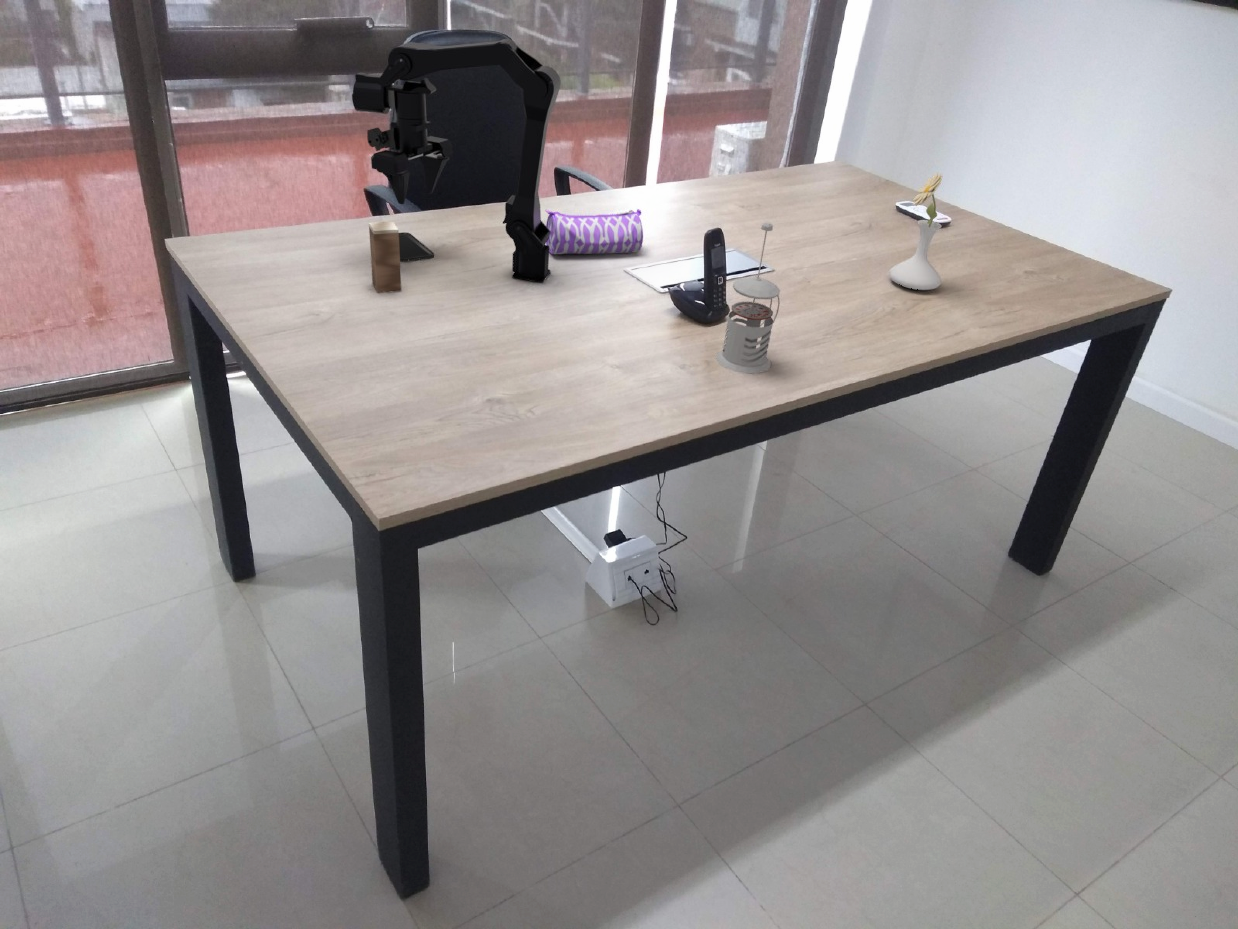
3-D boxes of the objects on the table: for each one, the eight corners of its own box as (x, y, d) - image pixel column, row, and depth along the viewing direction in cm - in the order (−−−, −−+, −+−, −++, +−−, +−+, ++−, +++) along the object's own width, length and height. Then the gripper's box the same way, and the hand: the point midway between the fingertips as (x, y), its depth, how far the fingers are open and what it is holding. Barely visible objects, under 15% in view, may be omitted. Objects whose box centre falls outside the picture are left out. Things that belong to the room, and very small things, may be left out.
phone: (408, 231, 200) (435, 254, 189) (408, 236, 200) (436, 259, 190) (373, 235, 196) (399, 259, 185) (373, 240, 196) (400, 264, 186)
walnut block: (396, 281, 177) (393, 221, 171) (401, 290, 174) (398, 229, 168) (372, 283, 176) (368, 222, 169) (377, 292, 172) (373, 230, 166)
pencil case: (631, 242, 209) (635, 202, 204) (647, 257, 202) (652, 215, 197) (539, 247, 201) (541, 205, 196) (552, 262, 194) (555, 219, 189)
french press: (704, 357, 161) (725, 218, 148) (745, 341, 168) (769, 207, 155) (747, 378, 155) (773, 236, 142) (788, 361, 163) (816, 224, 149)
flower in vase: (895, 271, 208) (924, 159, 194) (944, 284, 203) (978, 171, 190) (877, 287, 198) (907, 171, 185) (929, 301, 194) (963, 183, 180)
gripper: (406, 102, 182) (411, 180, 191) (344, 117, 168) (352, 202, 176) (453, 110, 179) (455, 190, 187) (393, 127, 164) (399, 212, 173)
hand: (415, 198), depth 181 cm, fingers open, 9 cm apart
